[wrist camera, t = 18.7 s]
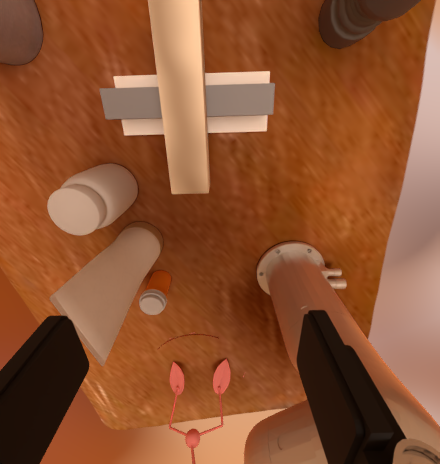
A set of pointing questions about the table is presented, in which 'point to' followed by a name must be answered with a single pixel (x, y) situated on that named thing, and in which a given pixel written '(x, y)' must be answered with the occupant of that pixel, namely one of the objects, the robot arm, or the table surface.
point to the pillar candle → (19, 31)
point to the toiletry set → (107, 257)
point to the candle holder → (356, 18)
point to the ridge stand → (217, 99)
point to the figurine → (219, 386)
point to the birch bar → (182, 91)
